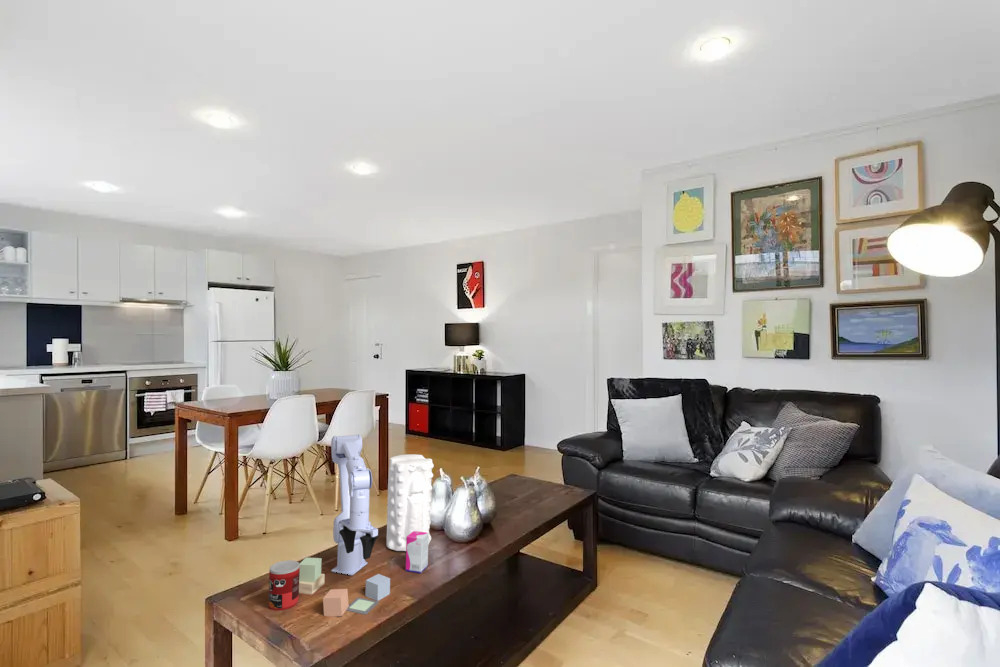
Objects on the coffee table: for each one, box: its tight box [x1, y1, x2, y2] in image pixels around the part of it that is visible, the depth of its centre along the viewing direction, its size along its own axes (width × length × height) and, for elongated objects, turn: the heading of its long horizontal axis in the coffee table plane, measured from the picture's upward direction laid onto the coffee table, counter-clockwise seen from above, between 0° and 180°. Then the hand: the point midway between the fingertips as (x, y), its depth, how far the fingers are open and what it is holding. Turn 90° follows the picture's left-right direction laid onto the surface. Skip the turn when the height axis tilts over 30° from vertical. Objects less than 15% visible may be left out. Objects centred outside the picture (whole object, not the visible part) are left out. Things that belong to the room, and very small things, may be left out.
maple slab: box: [299, 573, 326, 595], centre depth 154 cm, size 7×7×4 cm
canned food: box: [268, 559, 300, 611], centre depth 145 cm, size 8×8×11 cm
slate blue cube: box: [364, 573, 391, 602], centre depth 151 cm, size 5×5×5 cm
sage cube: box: [299, 557, 323, 582], centre depth 154 cm, size 5×5×5 cm
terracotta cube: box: [322, 588, 350, 617], centre depth 141 cm, size 5×5×5 cm
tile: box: [345, 597, 380, 616], centre depth 144 cm, size 7×7×1 cm
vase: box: [385, 453, 435, 552], centre depth 189 cm, size 17×16×32 cm
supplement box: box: [405, 531, 430, 574], centre depth 169 cm, size 6×6×12 cm
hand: (358, 555), depth 154 cm, fingers open, 7 cm apart
